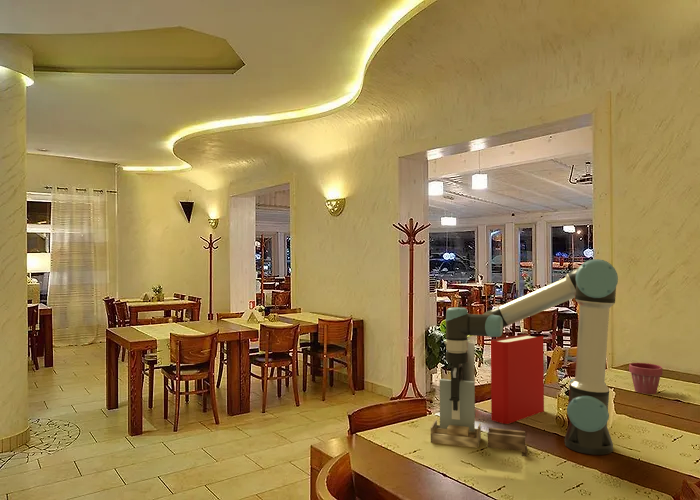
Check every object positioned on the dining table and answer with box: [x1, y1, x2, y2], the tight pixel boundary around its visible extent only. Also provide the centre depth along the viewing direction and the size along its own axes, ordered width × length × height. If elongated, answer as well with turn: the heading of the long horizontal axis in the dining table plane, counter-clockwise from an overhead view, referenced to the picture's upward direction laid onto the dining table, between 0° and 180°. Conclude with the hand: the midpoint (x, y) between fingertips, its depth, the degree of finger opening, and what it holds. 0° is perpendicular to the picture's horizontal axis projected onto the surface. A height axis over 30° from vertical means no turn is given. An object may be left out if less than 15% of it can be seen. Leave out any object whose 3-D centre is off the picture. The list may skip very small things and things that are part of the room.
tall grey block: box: [461, 338, 476, 398], centre depth 220 cm, size 14×6×30 cm, turn 168°
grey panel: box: [439, 378, 476, 432], centre depth 185 cm, size 12×2×20 cm, turn 71°
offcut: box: [447, 425, 469, 437], centre depth 180 cm, size 7×4×2 cm, turn 71°
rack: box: [430, 418, 482, 449], centre depth 182 cm, size 16×10×6 cm, turn 71°
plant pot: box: [628, 362, 663, 395], centre depth 252 cm, size 14×14×13 cm
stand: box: [487, 427, 528, 457], centre depth 176 cm, size 13×8×6 cm, turn 71°
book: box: [490, 333, 545, 425], centre depth 215 cm, size 27×8×32 cm, turn 129°
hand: (457, 416), depth 185 cm, fingers open, 6 cm apart
